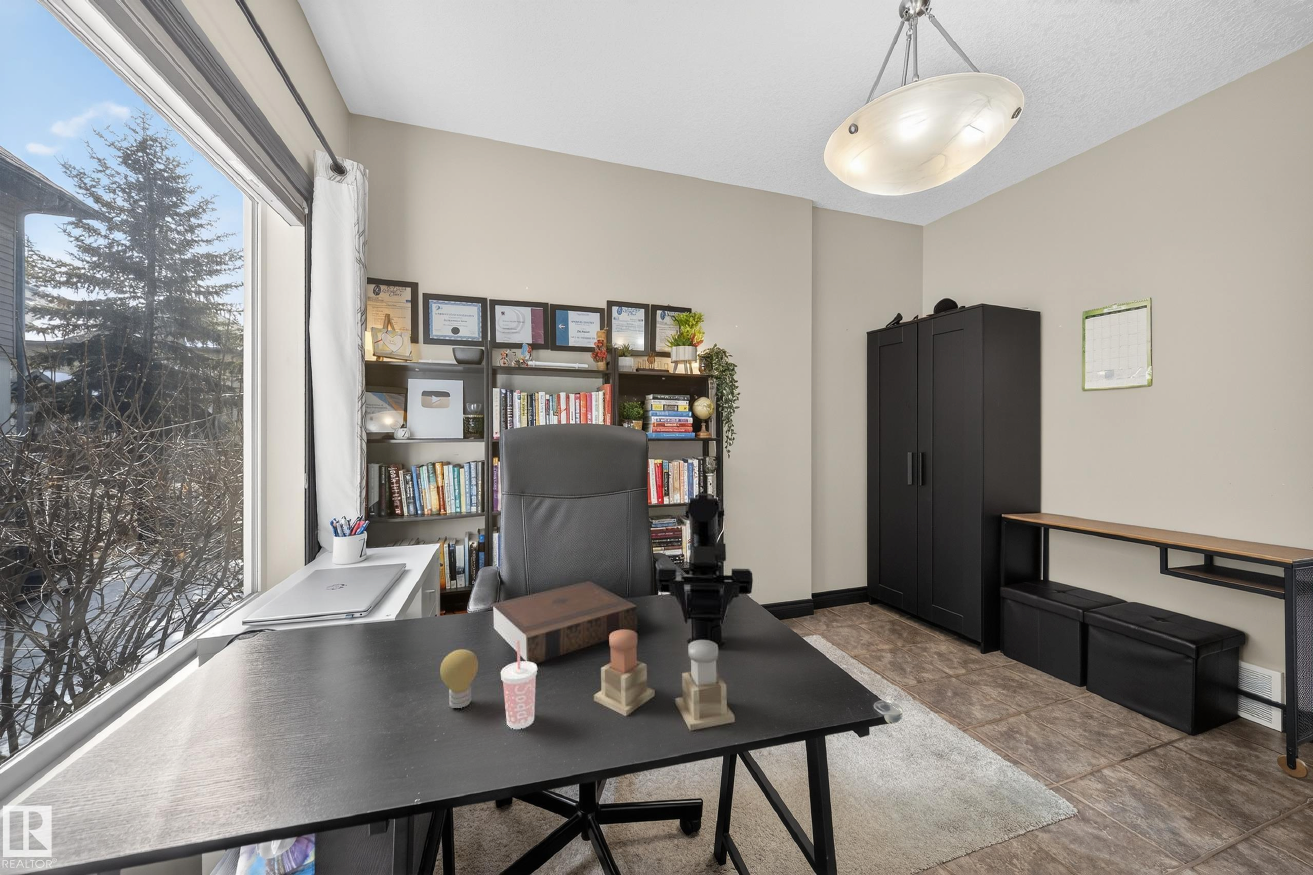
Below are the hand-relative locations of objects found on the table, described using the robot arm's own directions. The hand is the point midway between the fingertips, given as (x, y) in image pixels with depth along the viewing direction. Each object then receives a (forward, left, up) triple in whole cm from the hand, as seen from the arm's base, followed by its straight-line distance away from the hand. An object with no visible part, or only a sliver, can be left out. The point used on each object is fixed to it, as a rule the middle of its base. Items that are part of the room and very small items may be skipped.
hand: (704, 623), depth 90 cm
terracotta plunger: (-10, -12, -8) cm, 17 cm away
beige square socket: (+4, -4, -14) cm, 15 cm away
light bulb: (-28, -35, -14) cm, 47 cm away
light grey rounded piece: (+4, -4, -8) cm, 10 cm away
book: (-44, -4, -14) cm, 47 cm away
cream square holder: (-10, -12, -14) cm, 20 cm away
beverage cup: (-16, -29, -14) cm, 36 cm away
